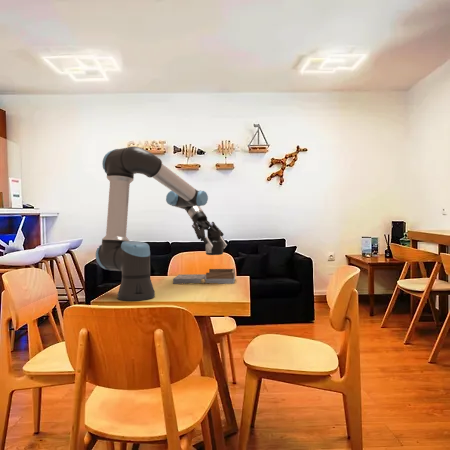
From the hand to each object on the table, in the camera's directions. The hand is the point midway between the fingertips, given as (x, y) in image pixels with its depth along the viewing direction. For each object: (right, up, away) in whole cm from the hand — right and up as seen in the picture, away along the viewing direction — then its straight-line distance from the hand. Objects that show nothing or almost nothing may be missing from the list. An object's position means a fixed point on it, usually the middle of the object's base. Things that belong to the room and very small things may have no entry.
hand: (218, 247), depth 193 cm
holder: (+1, -16, +9) cm, 18 cm away
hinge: (-7, -18, +10) cm, 22 cm away
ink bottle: (-2, -4, +3) cm, 5 cm away
